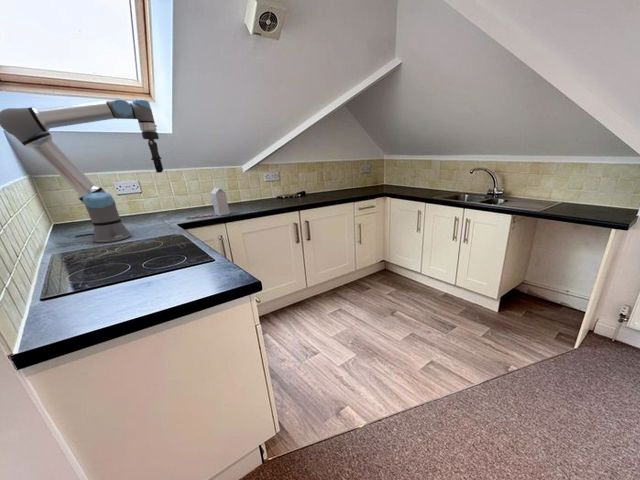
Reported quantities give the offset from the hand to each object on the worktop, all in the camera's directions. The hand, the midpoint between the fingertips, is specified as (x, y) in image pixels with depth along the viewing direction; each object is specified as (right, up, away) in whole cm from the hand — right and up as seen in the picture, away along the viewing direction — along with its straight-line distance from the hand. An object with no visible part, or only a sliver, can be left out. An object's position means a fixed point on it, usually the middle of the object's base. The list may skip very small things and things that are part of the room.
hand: (160, 171), depth 175 cm
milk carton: (+20, -18, +35) cm, 44 cm away
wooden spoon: (+8, -21, +29) cm, 36 cm away
